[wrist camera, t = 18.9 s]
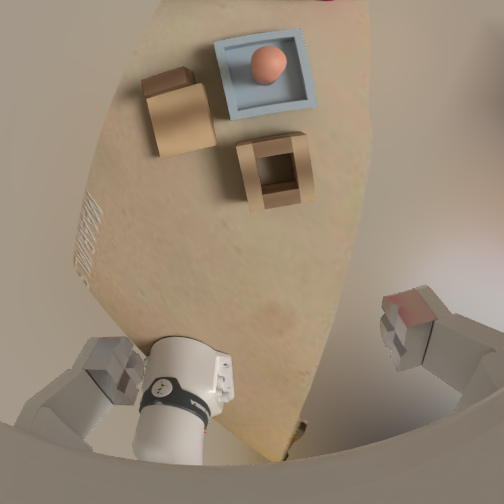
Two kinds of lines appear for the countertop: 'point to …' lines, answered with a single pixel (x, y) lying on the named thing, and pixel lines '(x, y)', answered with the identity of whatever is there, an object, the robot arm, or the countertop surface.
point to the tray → (258, 96)
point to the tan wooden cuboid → (182, 120)
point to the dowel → (267, 64)
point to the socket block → (278, 192)
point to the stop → (168, 81)
